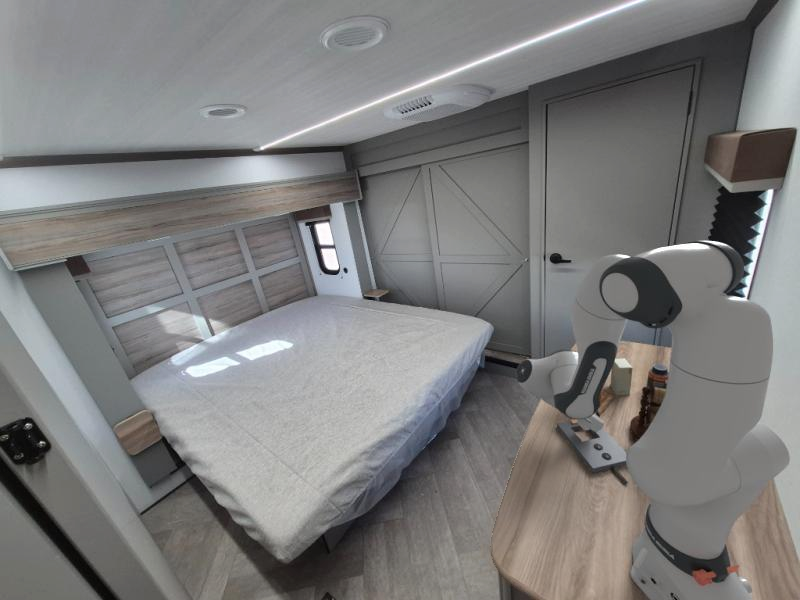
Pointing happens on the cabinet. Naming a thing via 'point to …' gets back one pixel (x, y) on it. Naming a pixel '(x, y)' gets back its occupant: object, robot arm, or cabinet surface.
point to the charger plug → (583, 425)
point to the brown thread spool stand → (647, 416)
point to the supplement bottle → (658, 376)
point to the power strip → (595, 448)
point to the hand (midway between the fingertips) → (588, 411)
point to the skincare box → (621, 377)
